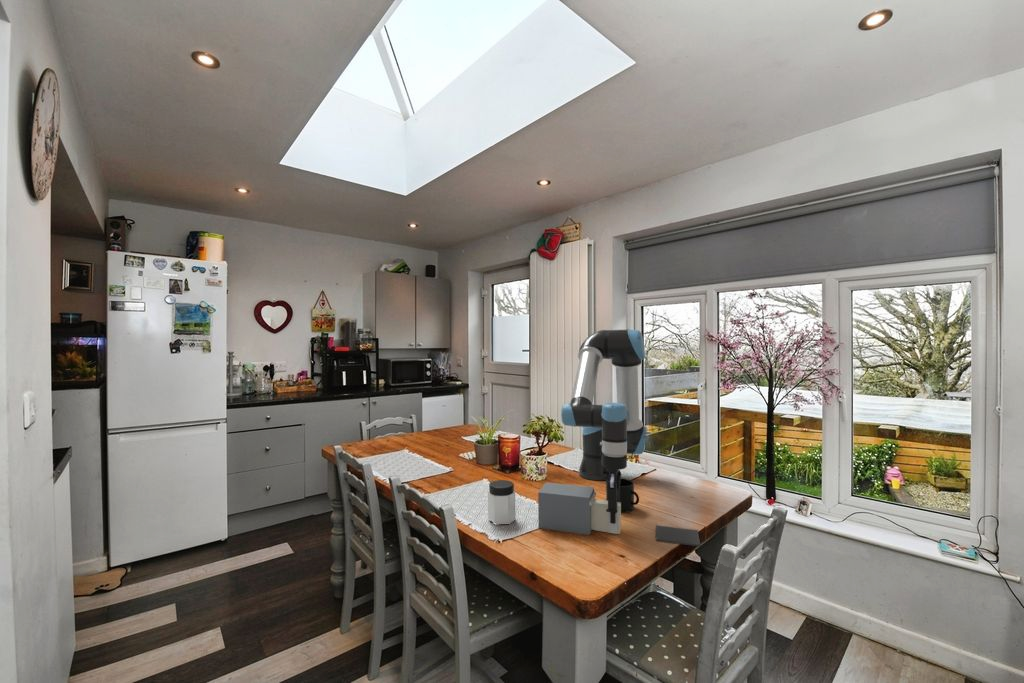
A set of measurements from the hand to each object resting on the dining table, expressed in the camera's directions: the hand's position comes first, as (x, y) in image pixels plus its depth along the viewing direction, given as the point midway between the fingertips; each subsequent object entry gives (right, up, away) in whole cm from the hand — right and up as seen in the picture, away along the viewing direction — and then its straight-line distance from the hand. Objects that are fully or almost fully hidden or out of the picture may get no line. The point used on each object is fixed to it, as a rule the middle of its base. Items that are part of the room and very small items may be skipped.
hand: (613, 530), depth 133 cm
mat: (+18, 0, -4) cm, 18 cm away
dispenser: (-14, 0, +5) cm, 15 cm away
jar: (-35, -1, +9) cm, 36 cm away
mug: (+8, 0, +18) cm, 19 cm away
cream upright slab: (-4, 0, +1) cm, 5 cm away
